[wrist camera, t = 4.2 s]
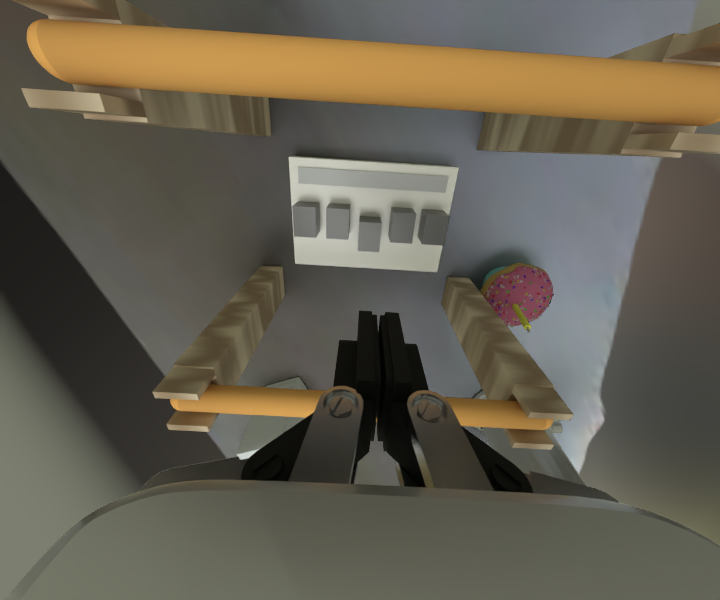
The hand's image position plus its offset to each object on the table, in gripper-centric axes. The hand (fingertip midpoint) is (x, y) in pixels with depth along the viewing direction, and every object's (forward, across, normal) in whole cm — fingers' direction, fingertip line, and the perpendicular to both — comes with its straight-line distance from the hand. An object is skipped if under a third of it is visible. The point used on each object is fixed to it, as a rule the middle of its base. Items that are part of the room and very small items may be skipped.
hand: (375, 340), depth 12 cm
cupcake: (+26, -19, +8) cm, 33 cm away
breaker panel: (+26, 0, 0) cm, 26 cm away
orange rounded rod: (+5, 0, -10) cm, 11 cm away
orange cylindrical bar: (+5, 0, +10) cm, 11 cm away
